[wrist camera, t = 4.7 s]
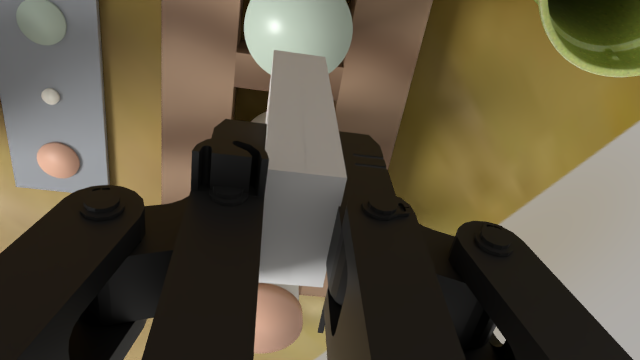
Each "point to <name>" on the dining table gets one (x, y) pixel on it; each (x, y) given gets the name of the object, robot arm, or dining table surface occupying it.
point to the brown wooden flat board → (242, 71)
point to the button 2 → (298, 29)
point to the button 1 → (277, 317)
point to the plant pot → (595, 34)
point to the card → (54, 93)
